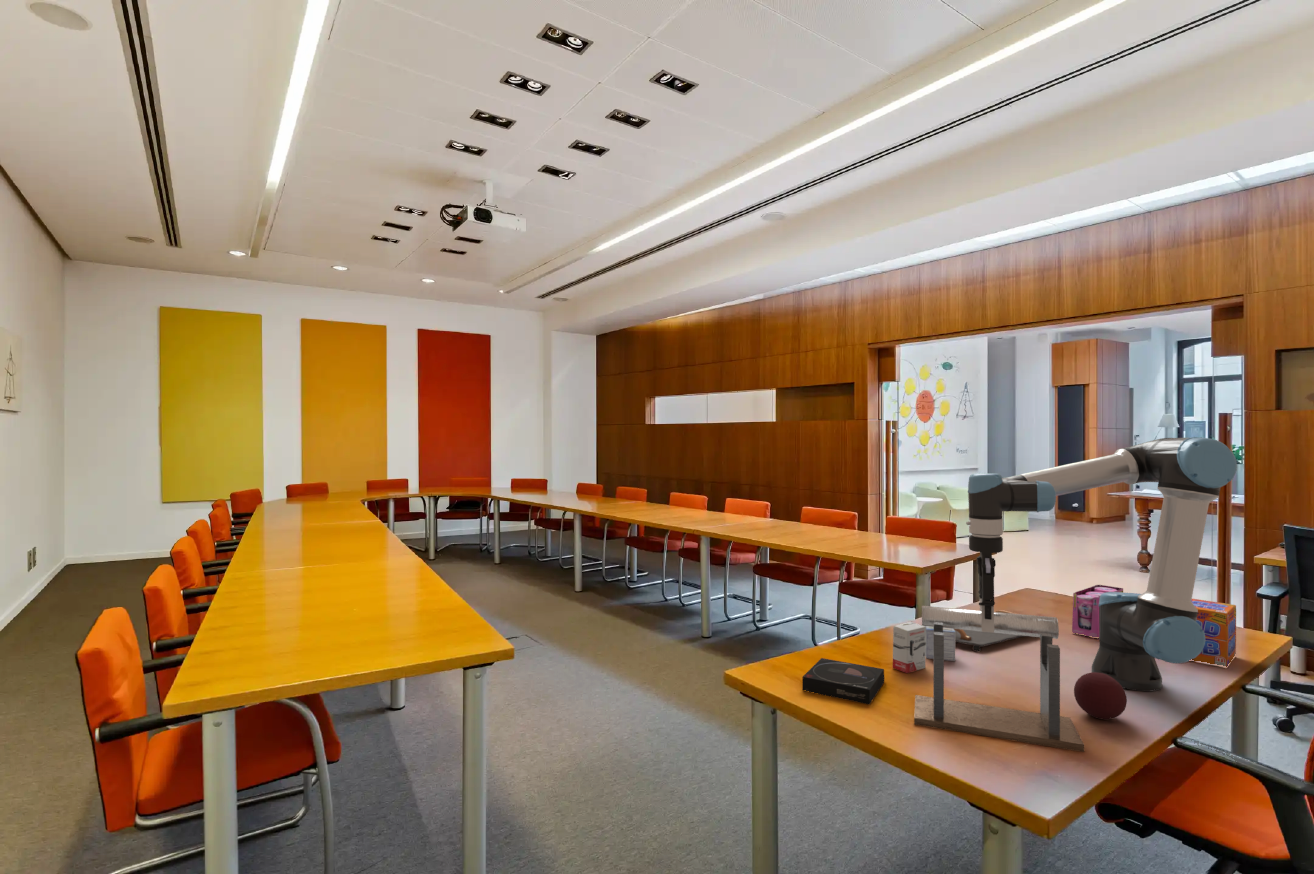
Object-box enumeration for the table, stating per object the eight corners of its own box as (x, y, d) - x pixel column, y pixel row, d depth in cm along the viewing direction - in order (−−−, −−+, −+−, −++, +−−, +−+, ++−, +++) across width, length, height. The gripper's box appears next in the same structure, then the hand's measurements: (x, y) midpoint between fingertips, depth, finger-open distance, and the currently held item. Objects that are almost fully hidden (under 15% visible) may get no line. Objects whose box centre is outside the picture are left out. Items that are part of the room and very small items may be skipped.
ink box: (907, 673, 174) (907, 630, 174) (891, 668, 178) (892, 625, 178) (926, 667, 179) (926, 625, 179) (910, 662, 183) (911, 621, 183)
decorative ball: (1136, 728, 141) (1136, 683, 141) (1086, 725, 143) (1086, 680, 143) (1112, 709, 151) (1112, 667, 151) (1065, 706, 153) (1065, 664, 153)
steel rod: (1054, 629, 158) (1055, 612, 156) (1057, 643, 154) (1059, 626, 152) (922, 616, 170) (921, 601, 168) (922, 629, 165) (921, 614, 163)
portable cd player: (884, 683, 168) (884, 668, 168) (869, 706, 154) (869, 689, 154) (822, 671, 177) (822, 657, 177) (802, 692, 162) (802, 676, 162)
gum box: (1097, 640, 205) (1097, 598, 205) (1069, 634, 211) (1069, 593, 211) (1124, 627, 219) (1124, 588, 219) (1097, 622, 225) (1097, 583, 226)
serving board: (983, 620, 230) (983, 602, 230) (1049, 637, 210) (1049, 618, 210) (910, 635, 210) (910, 616, 210) (976, 656, 190) (976, 635, 190)
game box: (1158, 655, 191) (1157, 602, 191) (1169, 644, 201) (1169, 594, 201) (1227, 669, 179) (1227, 613, 179) (1236, 657, 189) (1236, 604, 190)
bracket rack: (1070, 724, 143) (1070, 634, 143) (1084, 751, 130) (1084, 653, 131) (915, 700, 156) (915, 618, 156) (914, 724, 143) (914, 633, 143)
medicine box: (953, 656, 188) (954, 627, 188) (955, 661, 184) (955, 631, 184) (924, 653, 191) (924, 624, 191) (925, 658, 187) (925, 628, 187)
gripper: (966, 529, 171) (968, 617, 170) (971, 539, 154) (972, 637, 154) (998, 531, 168) (1000, 620, 168) (1006, 541, 151) (1008, 640, 151)
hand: (986, 628), depth 161 cm, fingers closed on steel rod, 5 cm apart
